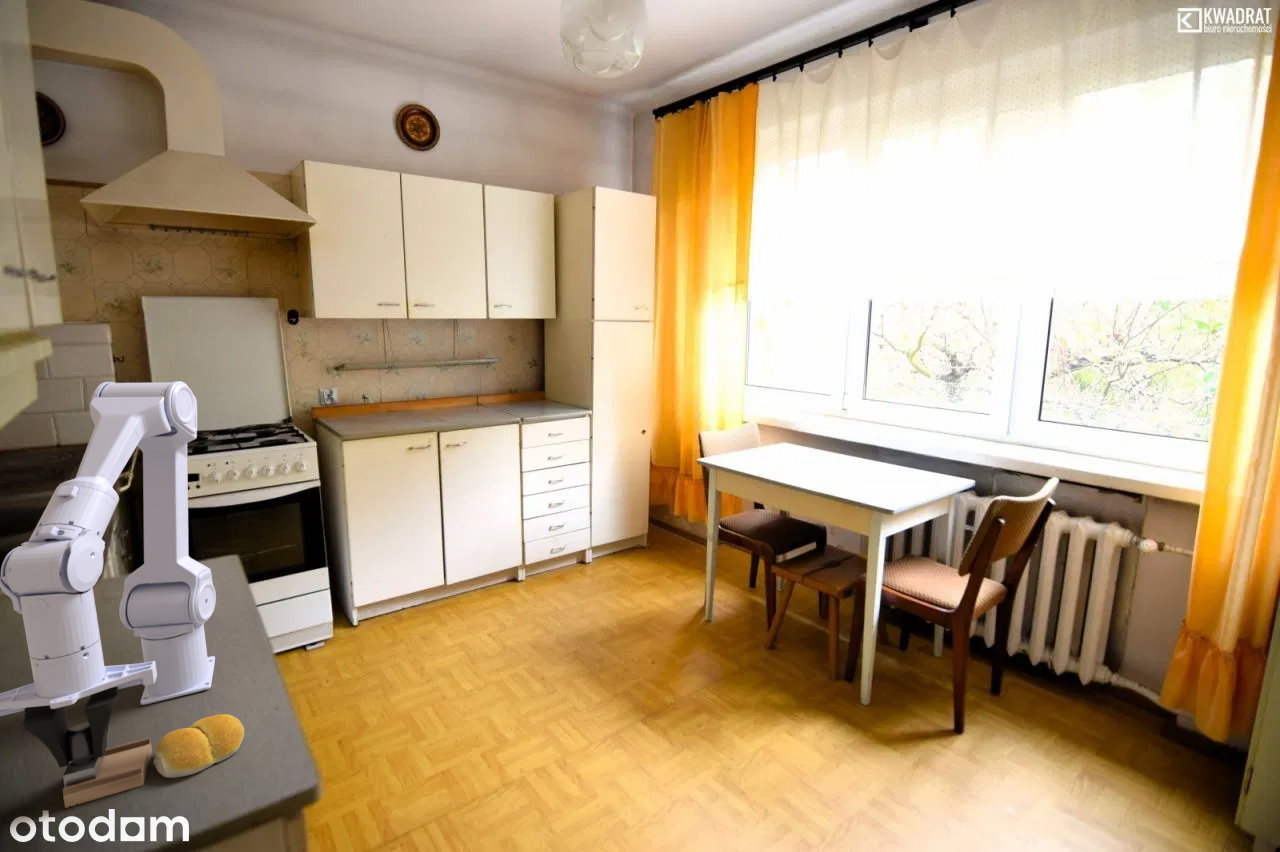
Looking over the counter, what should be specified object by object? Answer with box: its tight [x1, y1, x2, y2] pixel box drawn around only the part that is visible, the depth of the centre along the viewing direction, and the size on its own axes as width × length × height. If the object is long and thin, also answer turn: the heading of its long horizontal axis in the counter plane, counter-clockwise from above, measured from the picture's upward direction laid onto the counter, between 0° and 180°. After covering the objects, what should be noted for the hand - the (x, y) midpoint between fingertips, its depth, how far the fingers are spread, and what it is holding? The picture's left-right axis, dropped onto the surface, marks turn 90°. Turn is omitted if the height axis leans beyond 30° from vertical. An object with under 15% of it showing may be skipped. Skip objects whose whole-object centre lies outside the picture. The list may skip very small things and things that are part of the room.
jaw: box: [62, 722, 105, 787], centre depth 70 cm, size 5×3×5 cm, turn 31°
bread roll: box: [153, 713, 245, 779], centre depth 76 cm, size 8×9×4 cm
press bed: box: [62, 736, 153, 809], centre depth 71 cm, size 6×7×2 cm
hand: (83, 756), depth 70 cm, fingers closed on jaw, 2 cm apart
